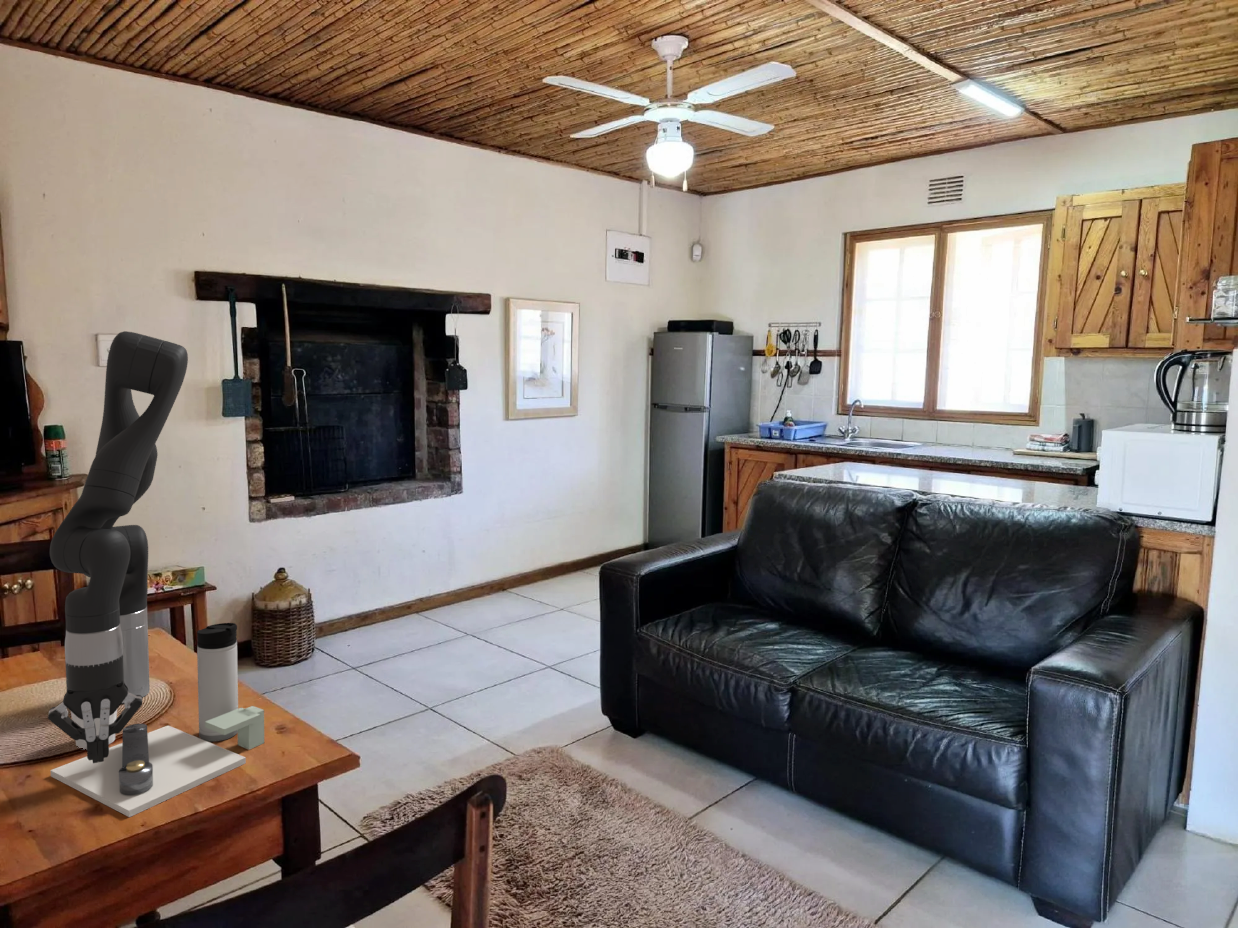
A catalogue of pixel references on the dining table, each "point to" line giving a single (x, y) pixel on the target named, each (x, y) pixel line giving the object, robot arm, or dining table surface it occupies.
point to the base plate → (174, 770)
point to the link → (135, 761)
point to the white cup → (80, 722)
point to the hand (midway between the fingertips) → (98, 760)
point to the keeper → (241, 725)
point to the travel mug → (216, 676)
